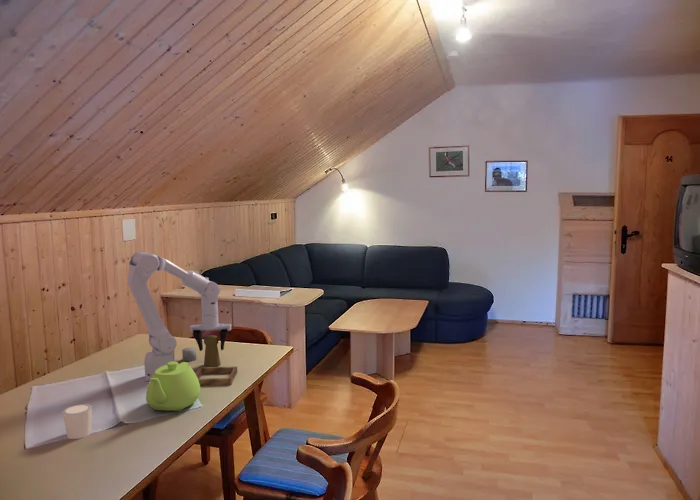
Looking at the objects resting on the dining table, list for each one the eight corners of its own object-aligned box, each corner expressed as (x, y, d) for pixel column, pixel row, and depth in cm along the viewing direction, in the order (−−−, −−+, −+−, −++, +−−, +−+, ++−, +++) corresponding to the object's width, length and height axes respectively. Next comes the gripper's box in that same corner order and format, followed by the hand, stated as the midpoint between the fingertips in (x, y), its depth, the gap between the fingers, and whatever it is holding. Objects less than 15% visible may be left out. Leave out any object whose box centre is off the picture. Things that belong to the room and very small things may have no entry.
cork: (218, 367, 187) (216, 338, 186) (201, 367, 188) (200, 338, 186) (222, 362, 193) (221, 333, 192) (206, 362, 194) (205, 333, 192)
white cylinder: (86, 425, 143) (84, 401, 142) (98, 433, 138) (96, 407, 137) (60, 435, 137) (58, 409, 137) (71, 442, 133) (69, 416, 132)
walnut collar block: (191, 385, 171) (191, 380, 170) (200, 372, 182) (199, 367, 182) (231, 384, 171) (231, 378, 171) (237, 371, 183) (237, 366, 183)
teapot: (178, 424, 143) (175, 378, 141) (128, 420, 145) (125, 376, 144) (211, 393, 165) (209, 353, 163) (167, 390, 167) (165, 351, 165)
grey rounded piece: (181, 362, 194) (180, 351, 194) (184, 357, 199) (184, 347, 199) (194, 361, 195) (194, 351, 194) (197, 357, 200) (197, 347, 199)
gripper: (232, 310, 193) (233, 345, 194) (192, 311, 192) (194, 346, 194) (228, 315, 186) (230, 351, 187) (187, 316, 185) (189, 352, 187)
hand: (211, 349), depth 190 cm, fingers open, 7 cm apart
